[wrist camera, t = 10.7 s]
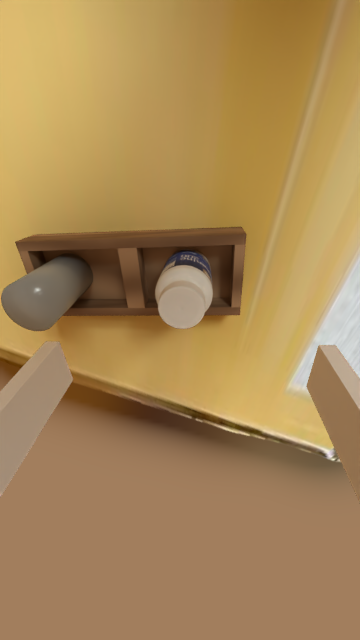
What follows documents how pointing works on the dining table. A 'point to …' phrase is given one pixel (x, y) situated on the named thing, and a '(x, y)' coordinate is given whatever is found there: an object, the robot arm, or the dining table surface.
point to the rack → (142, 266)
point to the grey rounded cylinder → (47, 292)
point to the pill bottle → (184, 289)
